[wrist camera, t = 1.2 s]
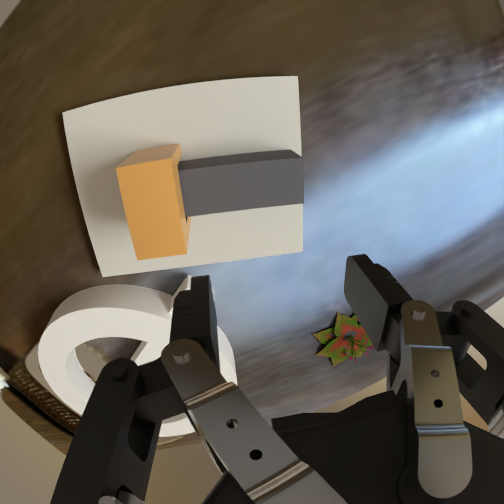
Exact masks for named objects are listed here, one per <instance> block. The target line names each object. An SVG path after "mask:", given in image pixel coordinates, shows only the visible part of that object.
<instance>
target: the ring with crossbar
mask: <svg viewBox="0 0 504 504" xmlns="http://www.w3.org/2000/svg"><path fill="white" fill-rule="evenodd" d="M191 277H193V276H191V275H189V274H188V275H187V277H186V278H185V279H184V281H183V282H182V284H181V285H180V286H179V288H178V289H177V291H176V292H175V294H174V295H173V296H172V295H170V294H167V293H164V292H161V291H158V290H154V289H150V288H146V287H141V286H134V285H123V284H111V285H101V286H95V287H91V288H87V289H84V290H81V291H79V292H77V293H75V294H73V295H71V296H70V297H68V298H67V299H66V300H64V301H63V302H62V303H61V304H60V305H59V306H58V307H57V309H56V310H55V312H54V313H53V315H52V317H51V319H50V321H49V323H48V325H47V327H46V329H45V331H44V333H43V335H42V337H41V339H40V342H39V347H38V359H39V364H40V368H41V370H42V373H43V375H44V377H45V379H46V381H47V382H48V384H49V385H50V387H51V388H52V389H53V391H54V392H55V393H56V394H57V395H58V396H59V397H60V398H61V399H62V400H63V401H64V402H65V403H66V404H67V405H68V406H70V407H71V408H72V409H74V410H75V411H77V412H78V413H80V414H81V415H82V414H83V412H84V410H85V407H86V405H87V402H88V400H89V398H90V395H91V393H92V391H93V388H94V386H95V383H94V382H93V381H92V380H91V379H90V378H89V377H88V376H87V375H86V374H85V373H84V372H83V370H84V369H83V368H82V366H81V365H80V363H79V361H78V359H77V356H76V352H75V347H76V346H78V345H79V344H81V343H83V342H86V341H88V340H91V339H95V338H102V337H125V338H132V339H137V340H142V342H141V344H140V345H139V347H138V348H137V350H136V351H135V353H134V354H133V356H132V357H131V359H130V360H132V361H134V362H135V363H136V364H137V366H139V365H142V364H145V363H148V362H151V361H154V360H156V359H158V358H159V357H161V352H162V350H163V349H164V347H165V346H166V345H168V344H169V340H170V330H171V321H172V312H173V303H174V299H175V297H176V296H177V294H178V293H179V292H180V291H183V290H190V287H191ZM212 293H213V298H214V288H213V287H212ZM217 332H218V346H219V360H220V373H221V374H222V376H223V377H224V378H225V380H226V381H227V382H228V383H229V382H234V383H235V384H236V385H237V378H236V370H235V362H234V355H233V351H232V348H231V345H230V343H229V341H228V339H227V338H226V336H225V334H224V333H223V332H222V330H221V329H220V328H219V327H218V326H217ZM192 432H195V430H194V428H193V427H192V425H191V423H190V422H189V420H188V418H187V416H186V415H185V413H182V414H179V415H176V416H174V417H171V418H168V419H165V420H162V425H161V429H160V433H159V437H166V436H176V435H183V434H188V433H192Z"/></svg>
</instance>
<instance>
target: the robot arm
mask: <svg viewBox="0 0 504 504" xmlns="http://www.w3.org/2000/svg"><path fill="white" fill-rule="evenodd" d="M344 293H345V297H346V300H347V302H348V303H349V305H350V307H351V308H352V310H353V312H354V313H355V315H356V317H357V318H358V320H359V322H360V323H361V325H362V327H363V328H364V330H365V332H366V334H367V335H368V337H369V339H370V340H371V342H372V344H373V346H374V347H375V349H376V351H377V352H378V351H382V350H385V349H387V350H388V352H389V354H388V357H387V391H386V392H383V393H380V394H377V395H373V396H370V397H367V398H365V399H363V400H361V401H359V402H357V403H355V404H354V405H352V406H350V407H348V408H346V409H344V410H342V411H340V412H336V413H301V414H296V415H290V416H285V417H279V418H273V419H271V422H272V428H271V427H270V425H269V424H268V423H267V422H266V421H265V419H264V418H263V417H262V416H261V415H260V413H259V412H258V411H257V410H256V409H255V407H254V406H253V405H252V404H251V403H250V401H249V400H248V399H247V398H246V396H245V395H244V394H243V393H242V391H241V390H240V389H239V388H238V386H237V385H236V384H235V383H234V382H229V383H228V382H227V381H226V380H225V378H224V377H223V376H222V374H221V373H220V360H219V346H218V332H217V318H216V310H215V304H214V298H213V293H212V287H211V281H210V276H209V275H205V276H197V277H191V287H190V290H183V291H180V292H179V293H178V294H177V296H176V297H175V299H174V303H173V312H172V321H171V330H170V340H169V344H168V345H166V346H165V347H164V349H163V350H162V352H161V357H159V358H158V359H156V360H154V361H151V362H148V363H145V364H142V365H139V366H137V364H136V363H135V362H134V361H132V360H130V359H126V358H120V359H116V360H113V361H111V362H109V363H108V364H106V365H105V366H104V368H103V369H102V371H101V373H100V375H99V377H98V379H97V382H96V384H95V386H94V388H93V391H92V393H91V395H90V398H89V400H88V402H87V405H86V407H85V410H84V412H83V414H82V417H81V419H80V422H79V424H78V427H77V429H76V432H75V434H74V437H73V440H72V442H71V445H70V447H69V450H68V453H67V456H66V458H65V461H64V464H63V467H62V470H61V472H60V475H59V478H58V481H57V484H56V487H55V490H54V494H53V496H52V500H51V503H50V504H146V503H144V500H145V496H146V491H147V486H148V482H149V477H150V472H151V468H152V463H153V459H154V455H155V450H156V446H157V442H158V437H159V433H160V429H161V425H162V420H165V419H168V418H171V417H174V416H176V415H179V414H182V413H185V415H186V416H187V418H188V420H189V422H190V423H191V425H192V427H193V428H194V430H195V432H196V433H197V435H198V437H199V438H200V440H201V441H202V443H203V445H204V446H205V448H206V450H207V452H208V453H209V455H210V457H211V458H212V460H213V462H214V463H215V465H216V466H217V468H218V469H219V471H220V472H221V473H222V477H221V478H220V480H219V481H218V482H217V484H216V485H215V486H214V488H213V489H212V490H211V492H210V493H209V494H208V496H207V497H206V499H205V500H204V501H203V502H202V504H504V328H503V327H502V326H501V325H500V324H498V323H497V322H496V321H495V320H494V319H493V318H491V317H490V316H489V315H488V314H487V313H485V312H484V311H483V310H482V309H481V308H480V307H478V306H477V305H476V304H474V303H472V302H470V301H465V300H461V301H457V302H456V303H454V305H453V307H452V310H451V312H435V310H434V309H433V307H432V306H431V305H429V304H428V303H426V302H424V301H420V300H413V299H412V298H411V297H410V295H409V294H408V293H407V292H406V291H405V289H404V288H403V287H402V286H401V285H400V284H399V283H398V282H397V280H396V279H395V278H394V277H393V275H392V274H391V273H390V272H389V271H388V270H387V269H386V268H384V267H383V266H381V265H379V264H377V263H376V264H374V263H373V262H372V261H371V260H370V259H369V257H368V256H367V255H366V254H360V255H354V256H349V257H348V258H347V262H346V272H345V283H344ZM470 345H473V346H474V347H475V348H476V349H477V350H478V351H479V352H480V353H481V354H482V355H483V356H484V357H485V359H486V361H487V368H486V370H484V369H483V368H482V367H481V366H480V365H479V364H478V363H477V362H476V361H475V360H474V359H473V358H472V357H471V356H470V355H469V354H468V353H467V351H468V349H469V347H470ZM459 392H460V393H461V394H462V395H463V397H464V398H465V399H466V400H467V401H468V402H469V403H470V404H471V406H472V407H473V408H474V409H475V410H476V411H477V413H478V414H479V415H480V416H481V417H482V419H483V420H484V421H485V422H486V423H487V425H488V426H489V431H490V432H487V431H485V430H483V429H480V428H478V427H476V426H474V425H472V424H470V423H468V422H465V421H463V415H462V408H461V400H460V393H459Z"/></svg>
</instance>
